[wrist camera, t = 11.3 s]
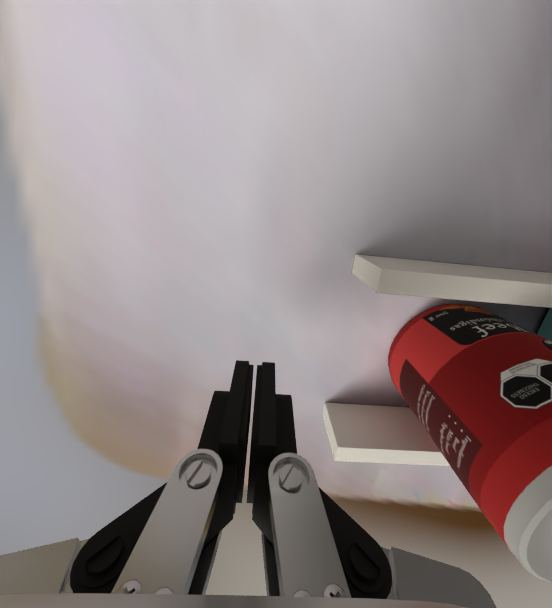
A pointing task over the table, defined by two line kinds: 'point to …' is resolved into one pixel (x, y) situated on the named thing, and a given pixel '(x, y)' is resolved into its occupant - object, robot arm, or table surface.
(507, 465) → the canned food
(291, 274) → the table surface
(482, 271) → the lane
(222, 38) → the table surface
